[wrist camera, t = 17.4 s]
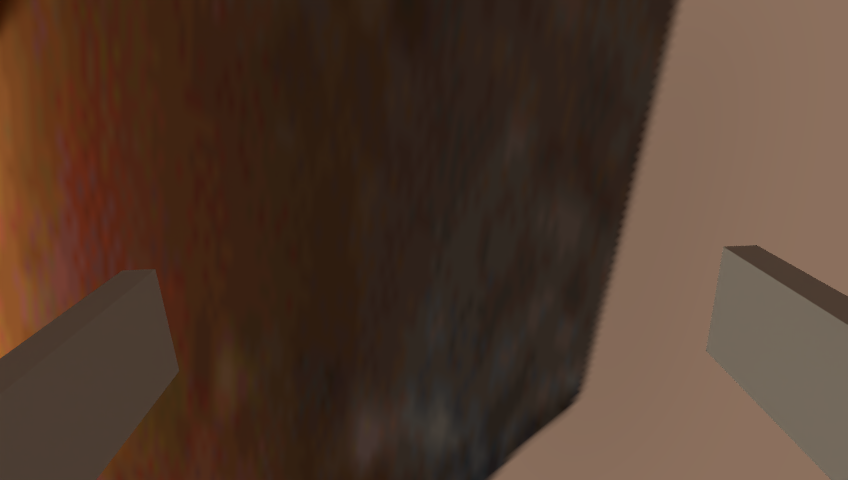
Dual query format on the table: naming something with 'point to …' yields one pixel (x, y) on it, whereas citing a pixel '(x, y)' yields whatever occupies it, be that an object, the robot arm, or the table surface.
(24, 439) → the robot arm
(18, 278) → the table surface
